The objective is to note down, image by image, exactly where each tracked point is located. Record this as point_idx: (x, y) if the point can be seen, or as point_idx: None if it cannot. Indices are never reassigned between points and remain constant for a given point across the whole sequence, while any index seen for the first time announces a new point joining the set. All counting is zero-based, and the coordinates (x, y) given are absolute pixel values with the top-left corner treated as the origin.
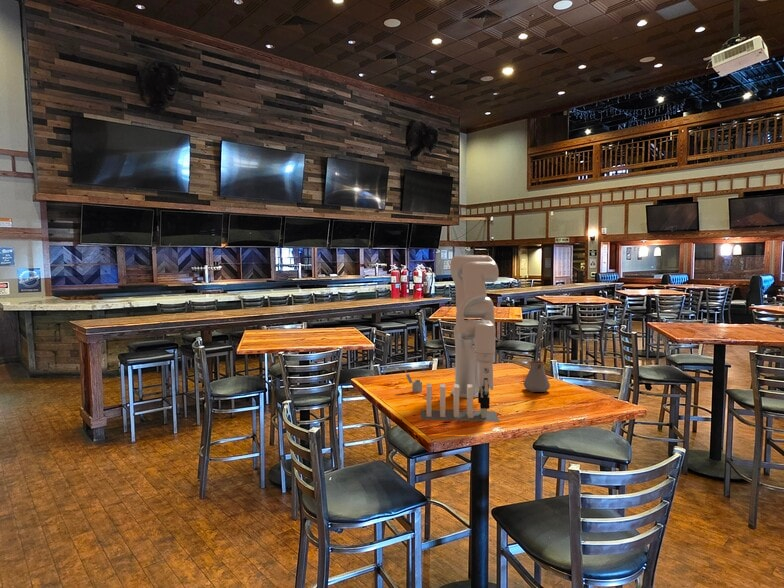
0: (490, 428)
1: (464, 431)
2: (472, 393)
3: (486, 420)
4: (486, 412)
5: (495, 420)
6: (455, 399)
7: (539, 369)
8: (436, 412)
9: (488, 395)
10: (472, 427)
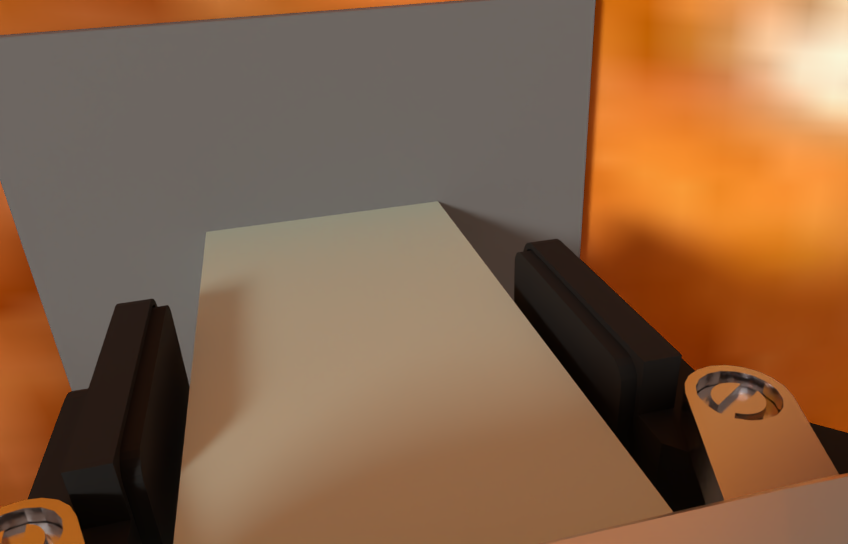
0: (800, 147)
1: (843, 407)
2: None
3: (549, 206)
4: (465, 245)
5: (540, 65)
6: None
7: None
8: None
9: (795, 427)
10: (744, 349)
